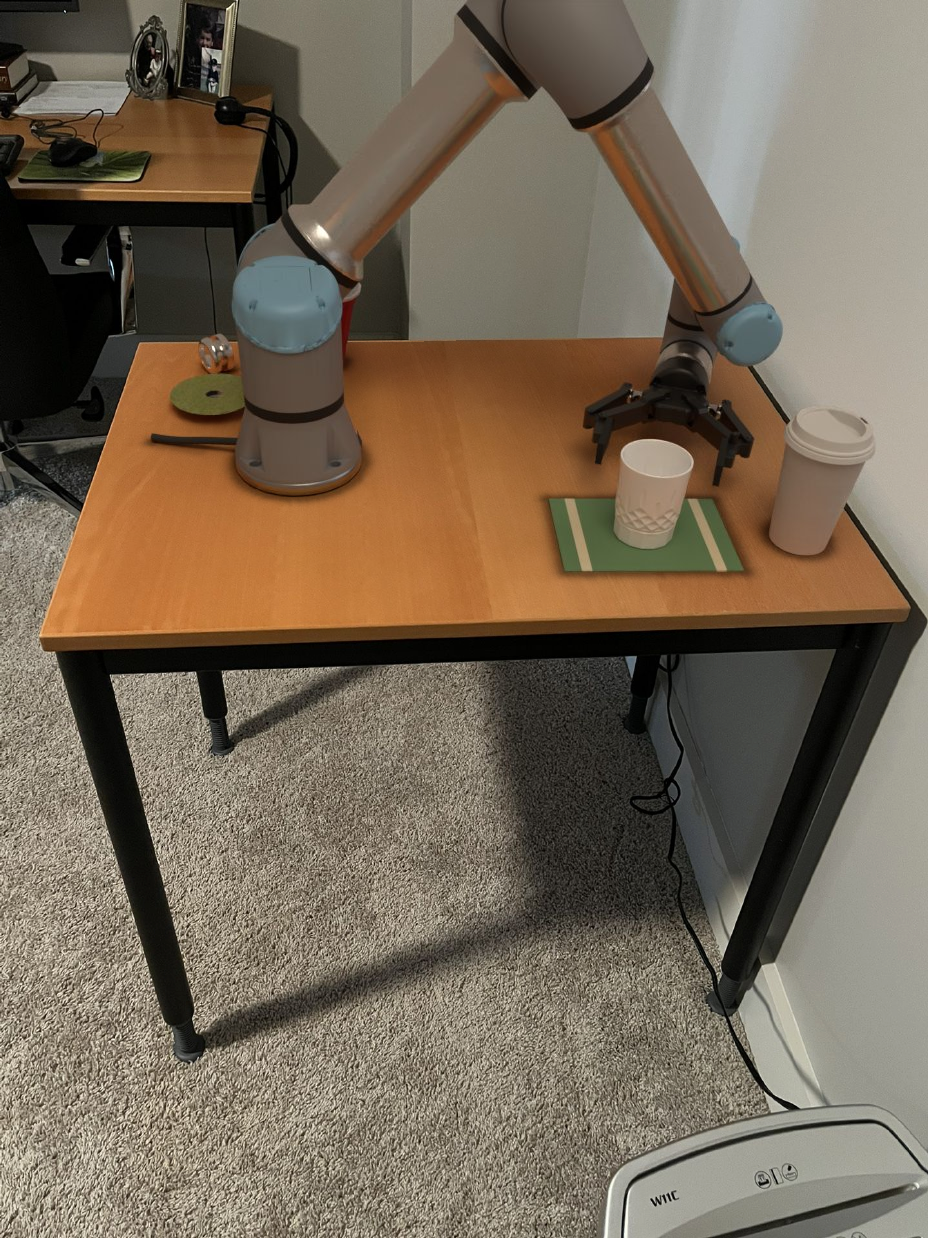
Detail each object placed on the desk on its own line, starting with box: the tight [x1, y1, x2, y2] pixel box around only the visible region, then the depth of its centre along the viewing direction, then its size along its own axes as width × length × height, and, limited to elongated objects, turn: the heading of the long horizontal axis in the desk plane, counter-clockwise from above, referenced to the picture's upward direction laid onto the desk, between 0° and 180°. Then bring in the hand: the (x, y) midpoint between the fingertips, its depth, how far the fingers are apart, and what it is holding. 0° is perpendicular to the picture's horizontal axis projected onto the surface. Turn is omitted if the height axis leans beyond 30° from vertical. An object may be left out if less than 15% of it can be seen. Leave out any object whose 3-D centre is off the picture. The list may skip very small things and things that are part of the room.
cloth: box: [548, 498, 745, 573], centre depth 114 cm, size 20×14×1 cm
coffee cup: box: [768, 405, 876, 556], centre depth 109 cm, size 10×10×15 cm
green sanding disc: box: [169, 372, 245, 416], centre depth 131 cm, size 11×11×2 cm
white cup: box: [614, 438, 695, 549], centre depth 110 cm, size 8×8×10 cm
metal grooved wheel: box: [197, 333, 235, 374], centre depth 138 cm, size 5×3×5 cm, turn 41°
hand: (657, 465), depth 113 cm, fingers open, 13 cm apart
